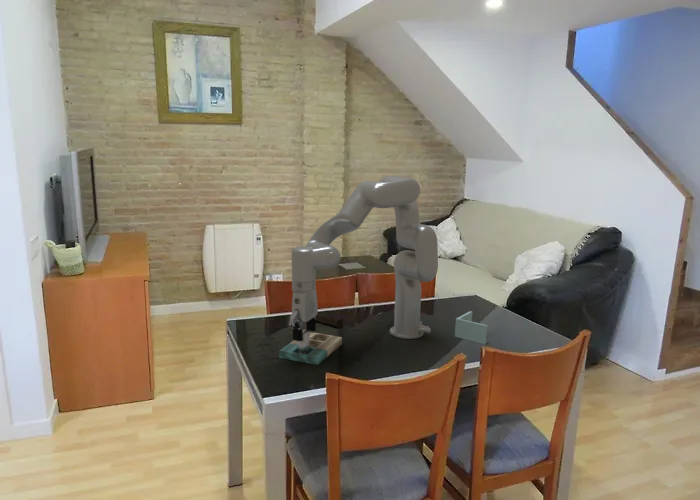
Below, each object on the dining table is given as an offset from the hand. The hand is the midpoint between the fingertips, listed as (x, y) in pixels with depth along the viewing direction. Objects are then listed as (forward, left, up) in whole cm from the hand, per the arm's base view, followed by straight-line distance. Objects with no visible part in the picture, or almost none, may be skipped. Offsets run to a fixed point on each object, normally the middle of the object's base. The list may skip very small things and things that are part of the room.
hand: (304, 335), depth 172 cm
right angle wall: (-49, -45, -8) cm, 67 cm away
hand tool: (+9, -33, -8) cm, 36 cm away
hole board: (0, -6, -8) cm, 10 cm away
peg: (0, 0, -8) cm, 8 cm away
